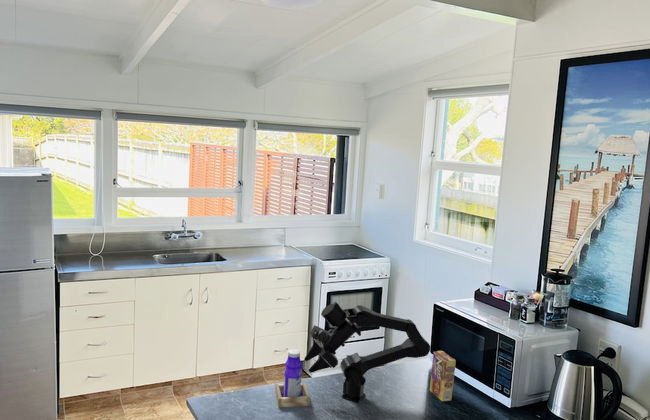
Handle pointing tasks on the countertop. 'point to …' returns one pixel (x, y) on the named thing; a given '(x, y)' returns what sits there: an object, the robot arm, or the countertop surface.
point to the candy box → (442, 375)
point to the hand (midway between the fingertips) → (307, 365)
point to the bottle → (293, 374)
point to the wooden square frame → (292, 400)
